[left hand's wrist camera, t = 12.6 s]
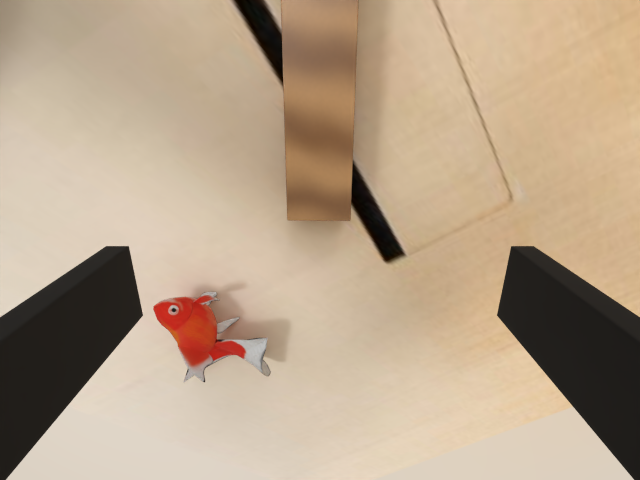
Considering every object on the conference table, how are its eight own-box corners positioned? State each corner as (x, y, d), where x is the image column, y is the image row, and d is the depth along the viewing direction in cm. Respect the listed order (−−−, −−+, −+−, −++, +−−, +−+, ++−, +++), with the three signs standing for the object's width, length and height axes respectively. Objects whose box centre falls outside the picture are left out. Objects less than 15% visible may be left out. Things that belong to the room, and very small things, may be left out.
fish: (232, 257, 36) (198, 353, 30) (300, 325, 47) (286, 406, 41) (155, 269, 40) (112, 356, 34) (234, 329, 51) (212, 403, 45)
